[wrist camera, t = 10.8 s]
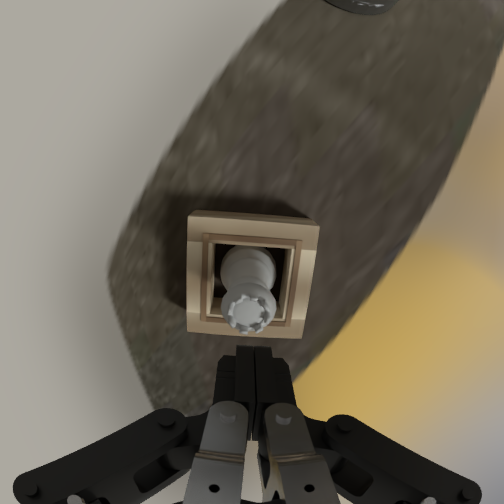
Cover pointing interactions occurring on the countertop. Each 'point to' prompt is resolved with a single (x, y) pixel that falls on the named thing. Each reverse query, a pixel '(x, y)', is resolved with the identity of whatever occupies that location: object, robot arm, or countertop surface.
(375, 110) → the countertop surface
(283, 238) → the socket block
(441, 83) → the countertop surface
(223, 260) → the rook chess piece
